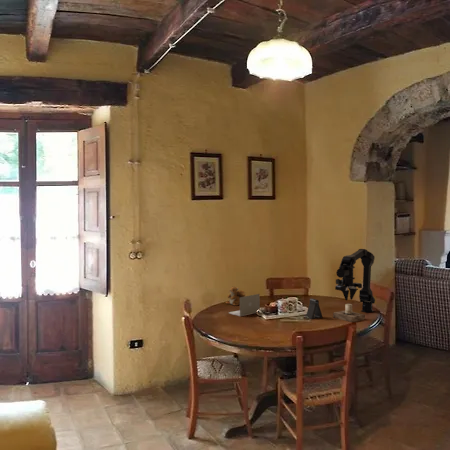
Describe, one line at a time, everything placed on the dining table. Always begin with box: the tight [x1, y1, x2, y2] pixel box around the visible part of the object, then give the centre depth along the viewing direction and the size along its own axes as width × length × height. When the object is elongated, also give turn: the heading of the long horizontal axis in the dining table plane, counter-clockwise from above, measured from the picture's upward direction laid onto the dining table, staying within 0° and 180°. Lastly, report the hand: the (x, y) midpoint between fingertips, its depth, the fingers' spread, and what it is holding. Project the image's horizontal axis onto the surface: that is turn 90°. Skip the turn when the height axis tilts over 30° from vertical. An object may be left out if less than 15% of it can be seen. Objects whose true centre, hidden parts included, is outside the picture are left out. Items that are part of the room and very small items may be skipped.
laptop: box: [228, 293, 261, 317], centre depth 336 cm, size 18×12×13 cm
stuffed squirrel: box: [225, 286, 246, 307], centre depth 365 cm, size 10×14×13 cm
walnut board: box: [332, 310, 366, 323], centre depth 316 cm, size 12×16×3 cm
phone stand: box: [306, 298, 323, 320], centre depth 320 cm, size 9×6×12 cm, turn 117°
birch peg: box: [344, 303, 353, 315], centre depth 315 cm, size 4×4×9 cm
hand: (348, 299), depth 315 cm, fingers open, 4 cm apart
